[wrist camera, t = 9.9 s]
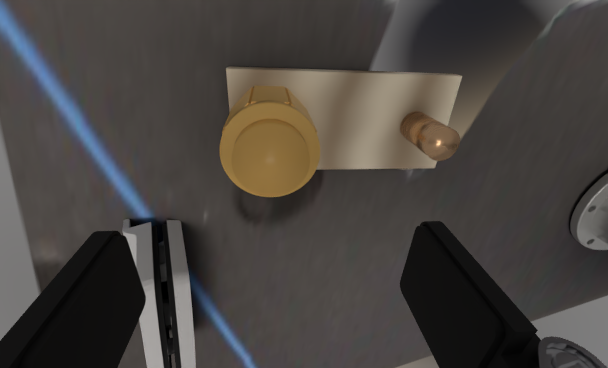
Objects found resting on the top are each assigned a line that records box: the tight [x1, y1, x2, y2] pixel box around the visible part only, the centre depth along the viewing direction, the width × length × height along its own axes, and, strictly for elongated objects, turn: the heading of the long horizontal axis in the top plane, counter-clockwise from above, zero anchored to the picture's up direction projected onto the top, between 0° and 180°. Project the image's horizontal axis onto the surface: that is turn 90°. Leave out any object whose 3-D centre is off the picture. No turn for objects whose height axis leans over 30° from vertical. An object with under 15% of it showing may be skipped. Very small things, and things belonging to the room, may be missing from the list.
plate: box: [226, 66, 462, 170], centre depth 23 cm, size 18×8×1 cm, turn 88°
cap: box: [220, 86, 320, 197], centre depth 19 cm, size 6×6×7 cm
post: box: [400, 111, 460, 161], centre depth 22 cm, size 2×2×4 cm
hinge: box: [123, 219, 196, 368], centre depth 27 cm, size 17×5×10 cm, turn 172°
